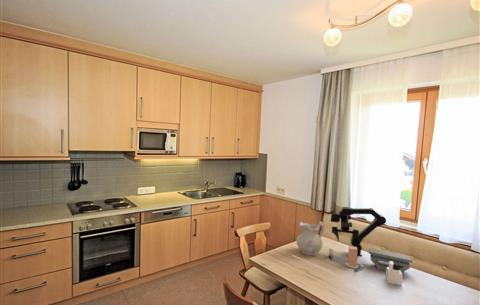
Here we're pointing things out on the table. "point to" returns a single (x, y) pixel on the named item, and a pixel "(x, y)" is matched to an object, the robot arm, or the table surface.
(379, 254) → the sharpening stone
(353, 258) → the post
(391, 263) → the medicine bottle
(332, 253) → the steel pin
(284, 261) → the table surface
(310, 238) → the ceramic pitcher
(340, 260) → the drilled plate
